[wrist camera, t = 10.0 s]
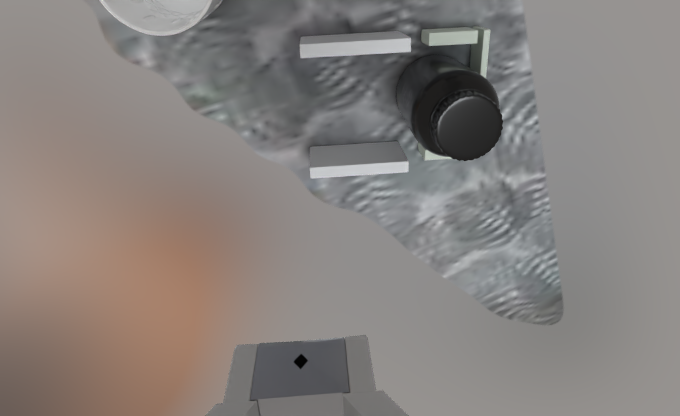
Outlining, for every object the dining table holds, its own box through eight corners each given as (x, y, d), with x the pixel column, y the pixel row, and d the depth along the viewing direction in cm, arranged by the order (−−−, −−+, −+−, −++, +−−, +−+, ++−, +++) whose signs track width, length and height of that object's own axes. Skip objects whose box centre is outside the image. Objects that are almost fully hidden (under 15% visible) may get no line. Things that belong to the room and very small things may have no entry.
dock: (421, 29, 40) (429, 33, 37) (478, 26, 40) (490, 29, 37) (417, 149, 45) (424, 160, 42) (468, 146, 45) (478, 156, 42)
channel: (300, 36, 39) (299, 44, 35) (398, 30, 40) (410, 38, 35) (310, 156, 44) (310, 178, 39) (397, 150, 45) (408, 172, 40)
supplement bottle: (466, 46, 41) (521, 71, 30) (468, 120, 44) (519, 167, 33) (389, 59, 41) (417, 89, 30) (397, 132, 44) (425, 182, 33)
